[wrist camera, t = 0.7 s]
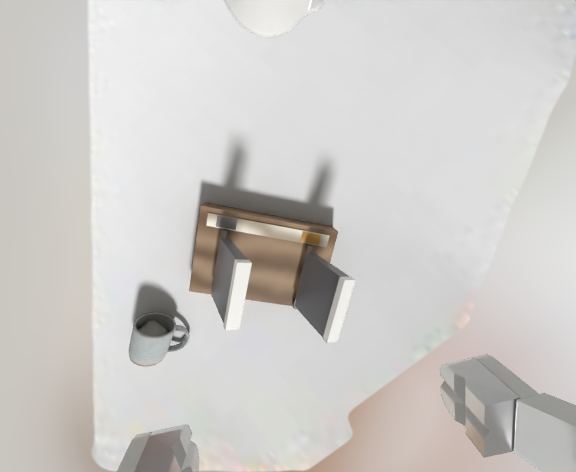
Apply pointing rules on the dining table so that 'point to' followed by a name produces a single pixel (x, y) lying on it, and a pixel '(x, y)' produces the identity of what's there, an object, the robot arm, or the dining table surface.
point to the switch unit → (259, 250)
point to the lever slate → (230, 283)
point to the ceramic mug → (154, 338)
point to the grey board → (324, 296)
